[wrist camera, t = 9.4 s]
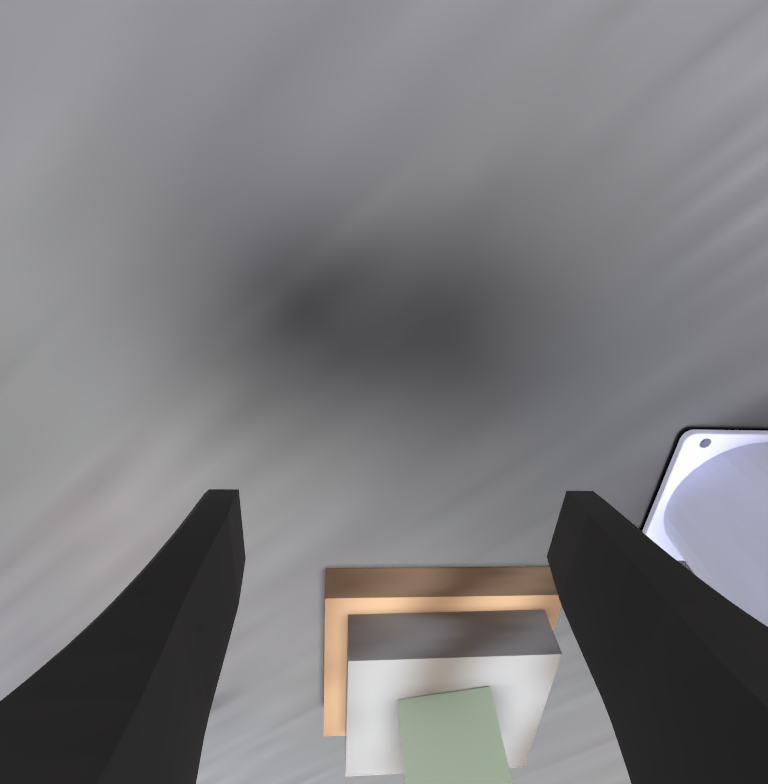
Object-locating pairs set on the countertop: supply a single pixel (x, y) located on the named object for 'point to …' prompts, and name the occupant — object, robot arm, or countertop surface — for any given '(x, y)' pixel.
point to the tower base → (419, 607)
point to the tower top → (444, 676)
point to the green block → (452, 739)
